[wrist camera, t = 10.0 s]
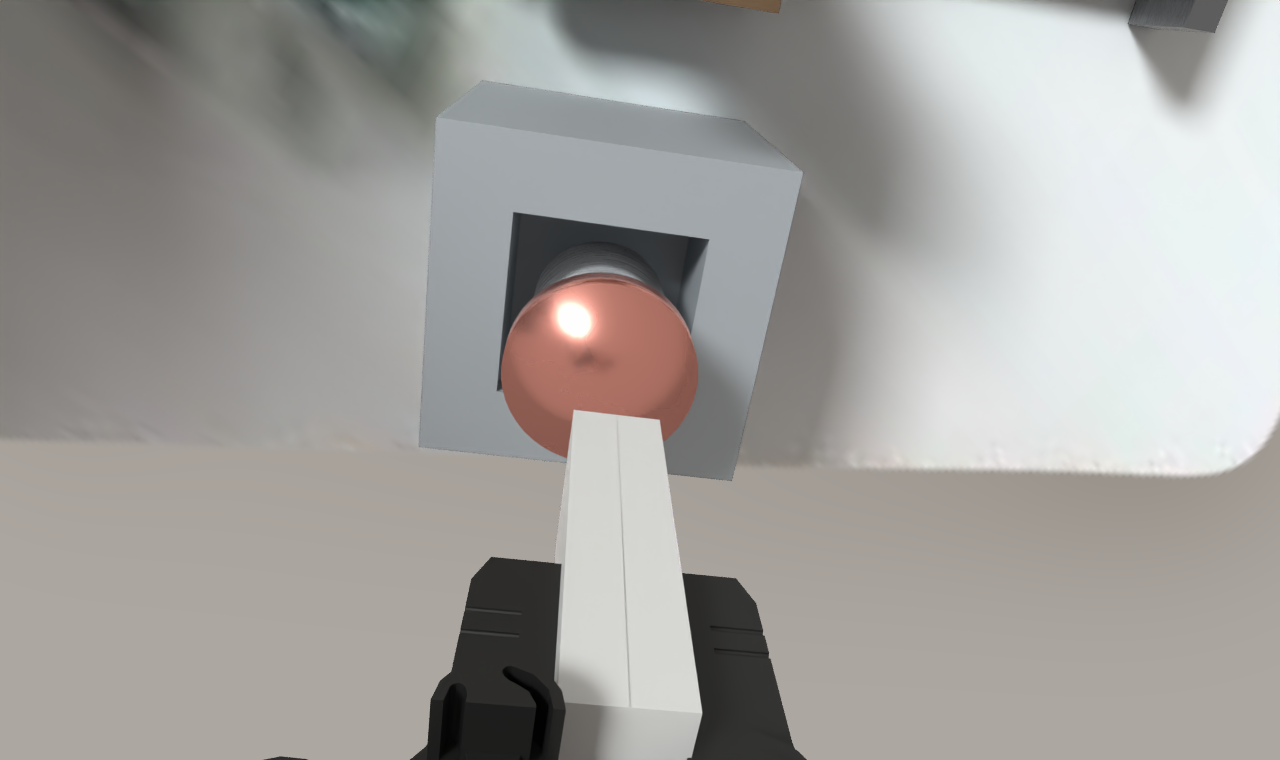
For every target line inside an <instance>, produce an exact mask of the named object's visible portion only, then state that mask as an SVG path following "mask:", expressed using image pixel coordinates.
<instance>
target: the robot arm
mask: <svg viewBox="0 0 1280 760" xmlns="http://www.w3.org/2000/svg"><path fill="white" fill-rule="evenodd" d="M266 760H307V759H299V758H290V757H289V758H288V757H276V758H271V759H266ZM410 760H806V759H805V758H804V757H803V756H802V755H801V754H800V753H799V752H798V751H797V750H795V748H794V746H793V743H792V740H791V736H790V732H789V728H788V725H787V721H786V717H785V713H784V709H783V706H782V702H781V698H780V694H779V690H778V686H777V682H776V679H775V675H774V671H773V667H772V663H771V659H769V651H768V648H767V644H766V640H765V636H763V629H762V625H761V621H760V617H759V613H758V609H757V605H756V603H755V601H754V600H753V599H752V598H751V597H750V595H749V594H748V593H747V592H746V590H745V589H744V588H743V587H742V585H741V584H740V583H739V582H738V580H737V579H736V578H726V577H716V576H706V575H695V574H685V573H682V570H681V563H680V556H679V549H678V542H677V536H676V529H675V522H674V515H673V508H672V502H671V494H670V487H669V481H668V474H667V467H666V460H665V453H664V446H663V439H662V433H661V426H660V420H657V419H648V418H640V417H631V416H623V415H614V414H605V413H597V412H588V411H580V410H574V412H573V419H572V427H571V434H570V441H569V449H568V456H567V464H566V471H565V478H564V486H563V493H562V500H561V508H560V515H559V522H558V530H557V537H556V548H555V561H554V563H548V562H547V563H546V562H537V561H527V560H517V559H516V560H515V559H506V558H495V557H491V558H490V559H489V560H488V561H487V562H486V563H485V564H484V566H483V567H482V568H481V569H480V570H479V571H478V572H477V573H476V574H475V575H474V577H473V578H472V579H471V583H470V588H469V592H468V597H467V602H466V607H465V612H464V616H463V620H462V625H461V631H460V634H459V639H458V643H457V648H456V653H455V658H454V662H453V667H452V671H451V672H450V673H449V674H448V675H447V676H445V677H444V678H443V679H442V680H441V681H440V682H439V684H438V687H437V688H436V690H435V692H434V694H433V696H432V698H431V704H430V718H429V732H428V744H427V746H426V747H425V748H424V749H422V750H421V751H420V752H419V753H418V754H416V755H415V756H414V757H413V758H412V759H410Z"/></svg>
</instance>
